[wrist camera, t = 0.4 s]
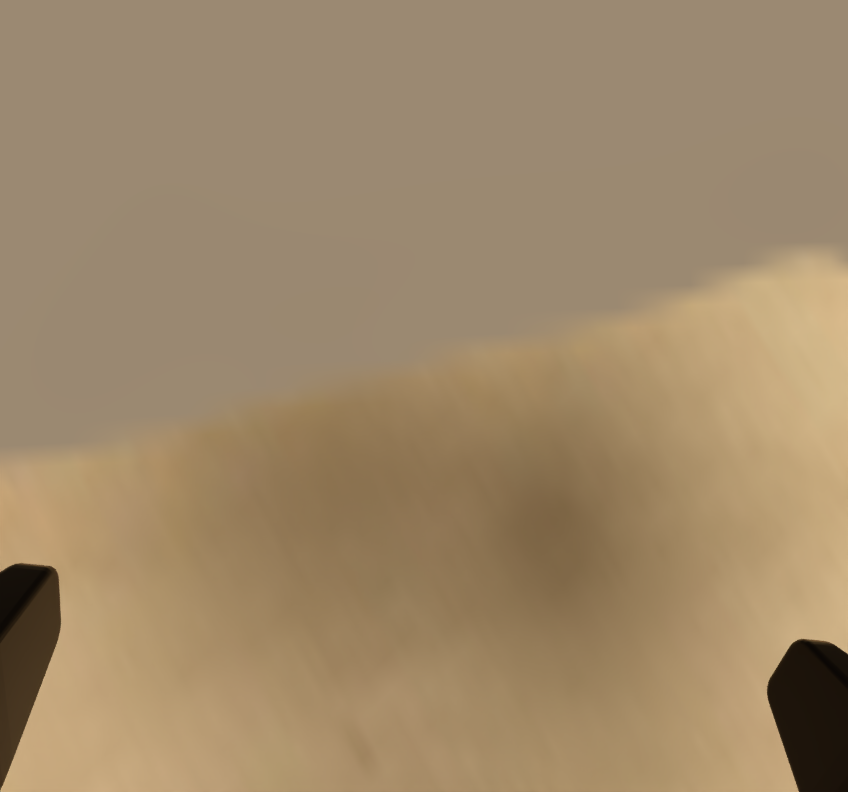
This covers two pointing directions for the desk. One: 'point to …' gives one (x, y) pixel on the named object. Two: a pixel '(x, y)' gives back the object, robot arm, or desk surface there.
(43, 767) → the desk surface
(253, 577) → the desk surface
